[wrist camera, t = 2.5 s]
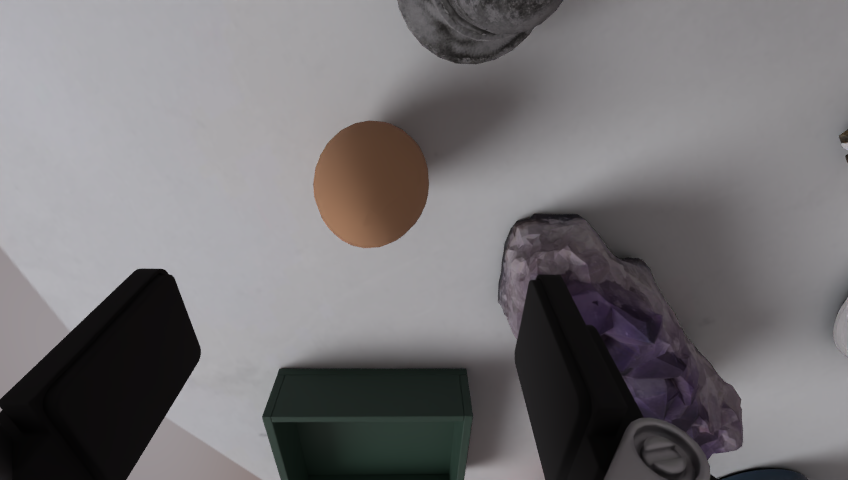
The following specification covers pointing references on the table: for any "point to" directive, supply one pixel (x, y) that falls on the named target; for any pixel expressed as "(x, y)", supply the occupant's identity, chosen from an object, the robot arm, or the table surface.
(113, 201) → the table surface
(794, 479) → the canister
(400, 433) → the box
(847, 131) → the cat figurine
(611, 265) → the geode
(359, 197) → the egg
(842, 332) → the lid
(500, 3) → the grey tall stone piece
